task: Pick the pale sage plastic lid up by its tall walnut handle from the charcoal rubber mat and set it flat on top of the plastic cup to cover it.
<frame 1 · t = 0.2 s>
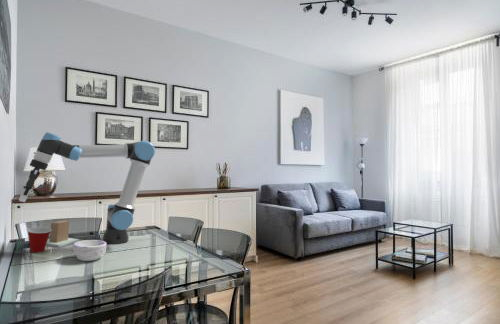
hand: (22, 199, 157), 27 cm above the table, tool tilted 20°, fingers open, 13 cm apart
paper bowls: (89, 258, 157), on the table
lid: (58, 242, 180), resting on mat
plastic cup: (37, 252, 162), on the table
mat: (58, 243, 180), on the table
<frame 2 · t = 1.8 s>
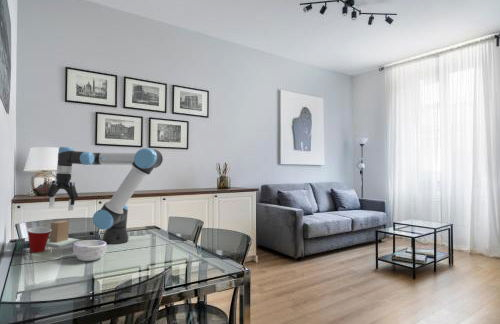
hand: (60, 209, 181), 20 cm above the table, tool pointing down, fingers open, 13 cm apart
nothing on the table moved.
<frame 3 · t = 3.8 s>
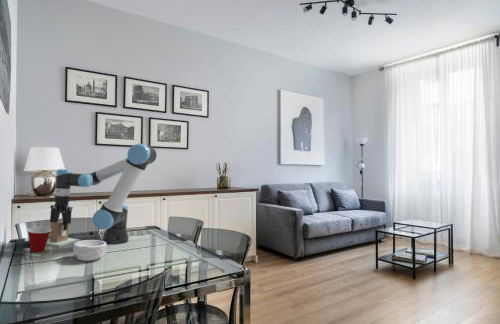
hand: (59, 235, 181), 5 cm above the table, tool pointing down, fingers closed on lid, 5 cm apart
lid: (58, 242, 180), resting on mat, touching gripper
everything else where it was.
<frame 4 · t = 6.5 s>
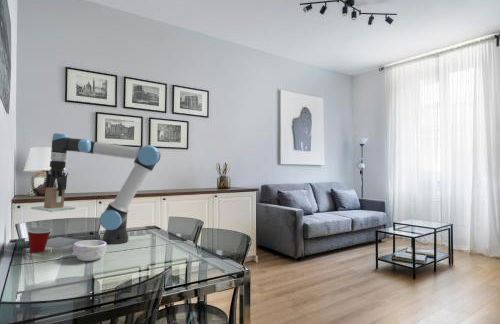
hand: (54, 201, 174), 25 cm above the table, tool pointing down, fingers closed on lid, 5 cm apart
lid: (53, 209, 174), point 21 cm above the table, touching gripper
everything else where it was.
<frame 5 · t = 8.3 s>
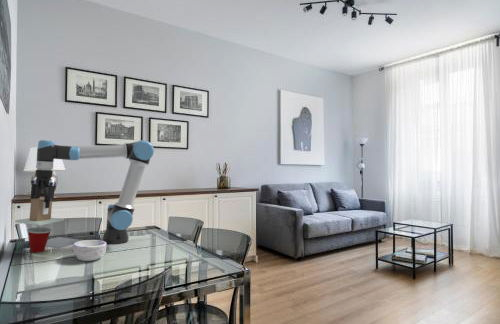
hand: (40, 213, 162), 20 cm above the table, tool pointing down, fingers closed on lid, 5 cm apart
lid: (40, 221, 162), point 16 cm above the table, touching gripper
everything else where it was.
when the fingers open (17 cm above the table, at t = 9.6 s): lid drops 1 cm, resting on plastic cup.
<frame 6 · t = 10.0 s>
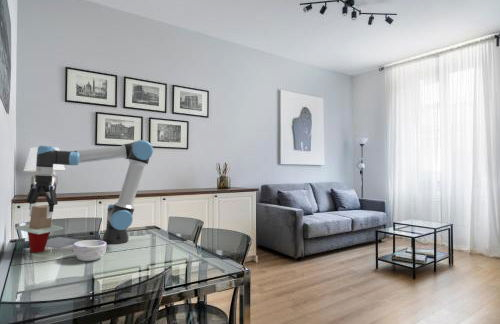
hand: (40, 217, 162), 18 cm above the table, tool pointing down, fingers open, 10 cm apart
lid: (39, 229, 162), point 12 cm above the table, touching plastic cup
plastic cup: (37, 252, 162), on the table, touching lid
everything else where it was.
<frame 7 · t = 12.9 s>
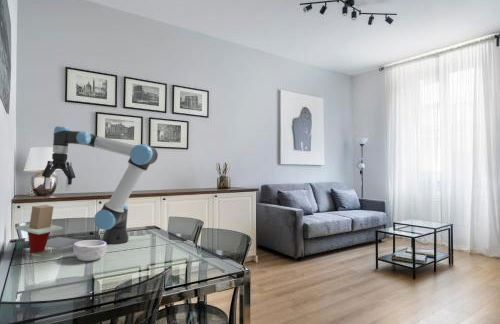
hand: (57, 189, 180), 31 cm above the table, tool pointing down, fingers open, 13 cm apart
nothing on the table moved.
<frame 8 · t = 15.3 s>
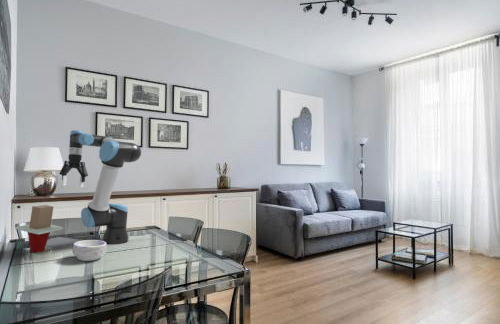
hand: (72, 186, 202), 32 cm above the table, tool pointing down, fingers open, 13 cm apart
nothing on the table moved.
at the end: lid 0.1 cm from the plastic cup (horizontally); lid point 12.0 cm above the table; lid touching plastic cup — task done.
